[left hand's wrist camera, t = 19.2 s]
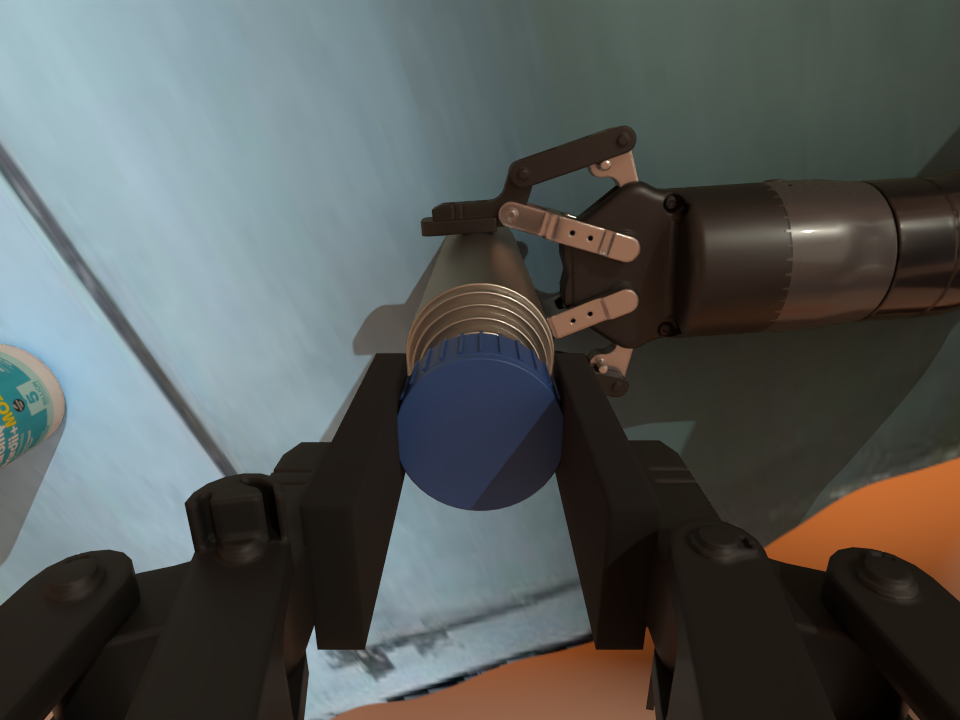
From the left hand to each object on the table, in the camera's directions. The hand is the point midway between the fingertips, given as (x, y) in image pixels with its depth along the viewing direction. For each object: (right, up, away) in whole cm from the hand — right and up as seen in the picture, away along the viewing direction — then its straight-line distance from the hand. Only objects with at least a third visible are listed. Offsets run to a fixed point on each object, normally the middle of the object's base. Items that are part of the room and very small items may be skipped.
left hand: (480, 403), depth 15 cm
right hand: (-3, +5, +15) cm, 16 cm away
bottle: (0, +8, +21) cm, 22 cm away
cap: (0, -1, -2) cm, 2 cm away
